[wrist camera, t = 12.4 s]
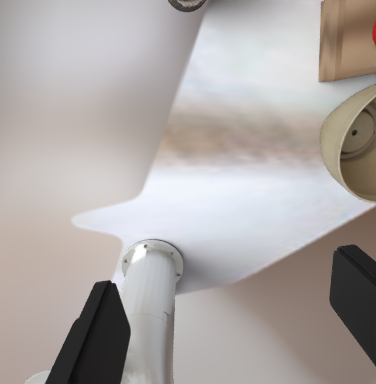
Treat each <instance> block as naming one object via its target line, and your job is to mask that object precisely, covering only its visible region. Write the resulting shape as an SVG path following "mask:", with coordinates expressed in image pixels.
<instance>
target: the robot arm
mask: <svg viewBox="0 0 376 384" xmlns="http://www.w3.org/2000/svg"><path fill="white" fill-rule="evenodd" d="M183 268H184V266H183V259H182V257H181V255H180V253H179V252H178V250H177V249H176V248H174V247H173V246H172V245H170V244H168V243H166V242H163V241H159V240H145V241H141V242H138V243H136V244H134V245H133V246H131V247H130V248H129V249H128V250H127V251H126V253H125V255H124V257H123V260H122V272H123V274H124V276H125V280H124V283H123V286H122V290H121V293H120V295H119V292H118V289H117V286H116V284H115V283H112V282H111V281H110V280H108V281H101V282H96V283H95V284H94V286H93V289H92V291H91V293H90V295H89V297H88V299H87V302H86V304H85V306H84V308H83V311H82V312H81V315H80V317H79V318H78V319H77V320H75V322H74V323H73V325H72V327H71V329H70V332H69V334H68V336H67V338H66V340H65V342H64V344H63V346H62V348H61V350H60V353H59V355H58V357H57V359H56V361H55V363H54V365H53V367H52V369H51V370H48V371H42V372H39V373H37V374H35V375H33V376H31V377H30V378H29V379H28V380H27V381H26V382H25V383H24V384H174V380H173V340H174V312H175V284H176V283H177V282H178V281H179V279H180V278H181V276H182V273H183ZM330 303H331V306H332V307H333V309H334V310H335V312H336V313H337V314H338V316H339V317H340V318H341V320H342V321H343V323H344V324H345V325H346V327H347V328H348V329H349V331H350V332H351V333H352V335H353V336H354V337H355V339H356V340H357V342H358V343H359V344H360V346H361V347H362V348H363V350H364V351H365V352H366V354H367V355H368V356H369V358H370V359H371V360H372V362H373V363H374V365H375V366H376V261H374V260H373V259H372V258H371V257H370V256H368V255H367V254H366V253H365V252H363V251H362V250H361V249H360V248H359V247H357V246H356V245H346V246H340V247H338V248H337V251H334V255H333V266H332V276H331V287H330Z"/></svg>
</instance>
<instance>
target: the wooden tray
mask: <svg viewBox="0 0 376 384" xmlns="http://www.w3.org/2000/svg"><path fill="white" fill-rule="evenodd" d="M375 21H376V0H324V1H323V2H321V27H320V55H319V82H325V81H336V80H341V79H346V78H351V77H356V76H361V75H367V74H372V73H376V46H375V43H374V41H373V38H372V31H373V27H374V23H375Z"/></svg>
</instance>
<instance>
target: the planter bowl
mask: <svg viewBox="0 0 376 384" xmlns="http://www.w3.org/2000/svg"><path fill="white" fill-rule="evenodd" d="M354 130H356V134H355V135H352V132H353V131H354ZM320 143H321V153H322V158H323V161H324V163H325V166H326V167H327V169H328V171H329V172H330V174H331V175H332V176H333V177H334V179H335V180H336V181H337V182H338V183H340V184H341V185H342V186H343V187H344V188H345V189H346V190H347V191H348V192H349V193H351V194H352V195H353V196H355V197H357V198H358V199H360V200H363V201H366V202H370V203H376V84H375V85H372V86H370V87H368V88H366V89H363V90H361V91H360V92H358V93H356V94H355V95H353V96H351V97H350V98H349V99H347V100H346V101H345V102H343V103H342V104H341V105H340V106H339V107H338V108H336V109H335V110H334V111H333V112H332V113H331V114H330V115H329V116H328V117H327V119H326V120H325V122H324V124H323V126H322V129H321V133H320Z"/></svg>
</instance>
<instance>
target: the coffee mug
mask: <svg viewBox="0 0 376 384" xmlns="http://www.w3.org/2000/svg"><path fill="white" fill-rule="evenodd" d="M168 1H169V3H170V4H171V5H172V6H173V7H174V8H176V9H177V10H179V11H183V12H192V11H195V10H197V9H198V8H200V7H201V6H202V5H203V4H204V2H205V1H206V0H168Z"/></svg>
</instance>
